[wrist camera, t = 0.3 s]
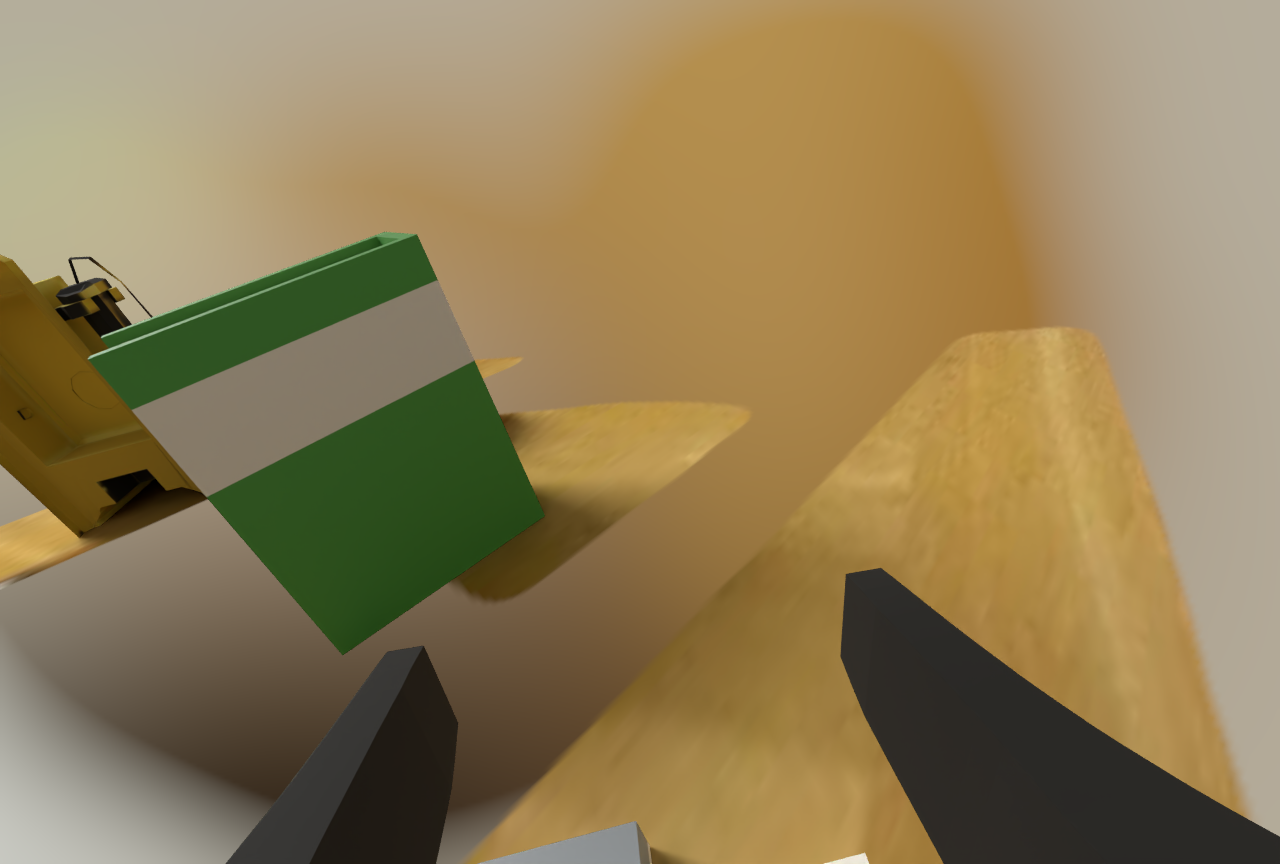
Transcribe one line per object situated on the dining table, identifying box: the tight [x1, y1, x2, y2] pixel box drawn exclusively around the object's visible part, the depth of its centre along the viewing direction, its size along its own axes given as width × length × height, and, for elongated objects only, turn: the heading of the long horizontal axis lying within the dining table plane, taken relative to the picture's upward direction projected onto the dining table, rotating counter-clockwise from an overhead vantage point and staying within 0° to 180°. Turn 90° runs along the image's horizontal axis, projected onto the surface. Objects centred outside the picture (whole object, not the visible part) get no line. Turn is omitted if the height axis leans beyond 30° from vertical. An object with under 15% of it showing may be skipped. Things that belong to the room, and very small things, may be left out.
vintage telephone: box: [0, 255, 202, 537], centre depth 65 cm, size 31×14×30 cm, turn 93°
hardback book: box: [88, 232, 545, 655], centre depth 40 cm, size 18×7×24 cm, turn 130°
